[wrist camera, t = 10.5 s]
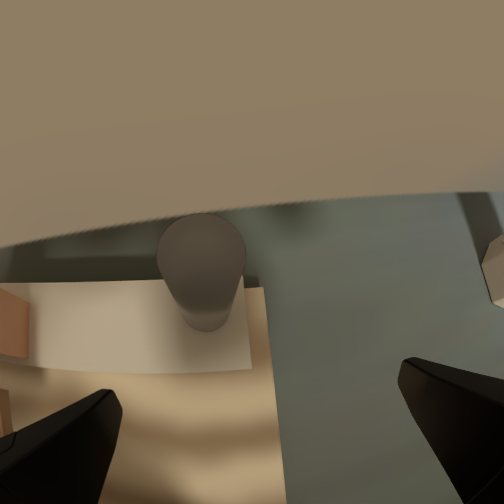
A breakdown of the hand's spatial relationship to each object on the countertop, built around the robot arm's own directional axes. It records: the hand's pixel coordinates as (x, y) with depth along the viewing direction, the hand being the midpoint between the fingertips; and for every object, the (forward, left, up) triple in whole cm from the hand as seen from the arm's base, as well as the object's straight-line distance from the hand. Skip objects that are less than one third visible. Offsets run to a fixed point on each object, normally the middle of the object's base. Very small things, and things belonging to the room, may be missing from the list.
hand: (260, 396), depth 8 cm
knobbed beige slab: (-1, +10, -11) cm, 14 cm away
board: (-7, +7, -12) cm, 16 cm away
